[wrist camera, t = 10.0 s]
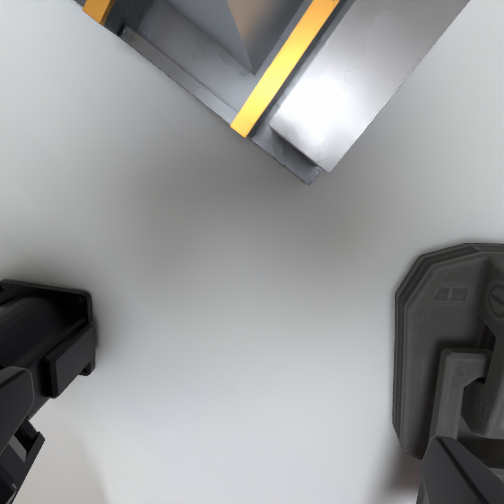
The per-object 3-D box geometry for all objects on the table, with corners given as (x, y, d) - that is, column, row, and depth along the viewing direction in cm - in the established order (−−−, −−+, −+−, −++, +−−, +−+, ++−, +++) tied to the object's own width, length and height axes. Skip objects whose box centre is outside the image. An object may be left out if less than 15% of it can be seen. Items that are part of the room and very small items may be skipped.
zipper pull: (382, 650, 20) (463, 287, 12) (358, 531, 27) (403, 240, 19) (534, 670, 20) (721, 296, 12) (472, 543, 26) (568, 244, 18)
